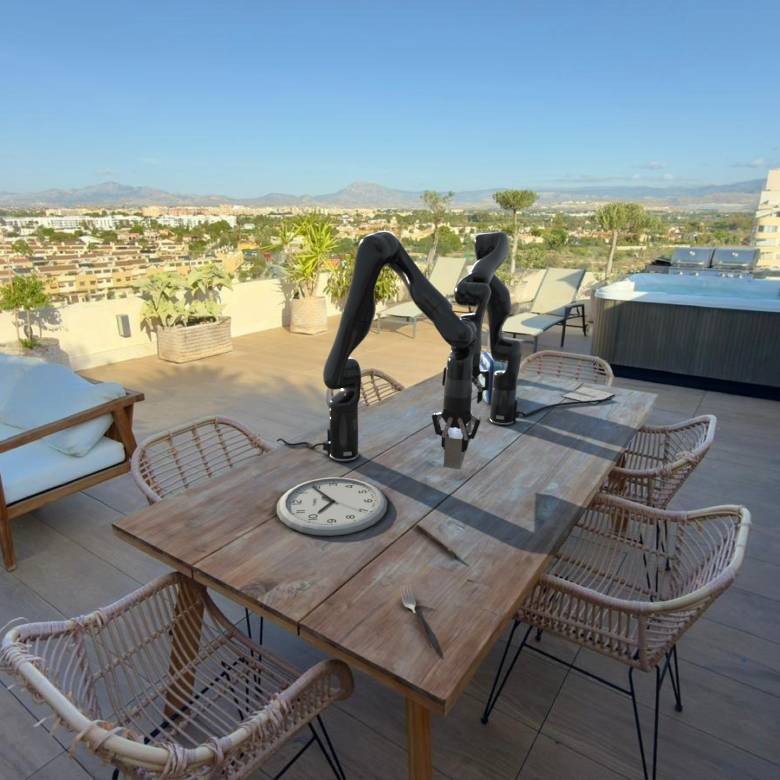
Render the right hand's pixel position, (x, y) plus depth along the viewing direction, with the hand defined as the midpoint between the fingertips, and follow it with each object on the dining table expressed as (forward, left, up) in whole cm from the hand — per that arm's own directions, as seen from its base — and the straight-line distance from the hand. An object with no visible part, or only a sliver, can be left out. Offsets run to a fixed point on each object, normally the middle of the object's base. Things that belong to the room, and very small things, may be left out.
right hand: (464, 400), depth 162 cm
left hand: (+9, +15, -9) cm, 20 cm away
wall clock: (+44, +16, -22) cm, 52 cm away
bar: (+5, +8, -13) cm, 16 cm away
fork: (+34, +63, -22) cm, 75 cm away
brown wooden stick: (+22, +39, -22) cm, 50 cm away
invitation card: (-86, -57, -22) cm, 105 cm away
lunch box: (-39, -61, -22) cm, 75 cm away
